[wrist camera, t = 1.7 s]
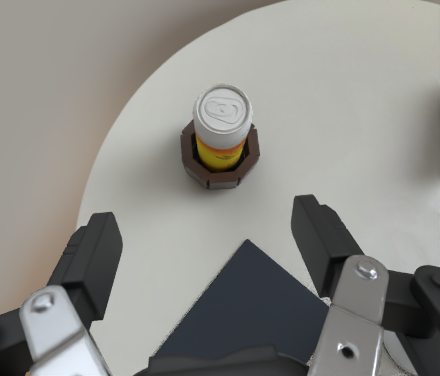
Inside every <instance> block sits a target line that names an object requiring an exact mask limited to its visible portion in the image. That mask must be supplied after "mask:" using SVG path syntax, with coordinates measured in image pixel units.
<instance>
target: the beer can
mask: <svg viewBox="0 0 440 376" xmlns="http://www.w3.org/2000/svg"><path fill="white" fill-rule="evenodd" d="M252 119H253V110H252V106H251V104H250V102H249V100H248V98H247V96H246V95H245V93H244V92H243V91H242V90H240V89H239V88H237V87H235V86H233V85H230V84H216V85H213V86H210V87H209V88H207V89H206V90H204V91H203V92H202V94H201V95H200V96H199V97H198V99H197V100H196V102H195V104H194V108H193V120H194V127H195V133H196V140H197V147H198V153H199V159H200V161H201V163H202V165H203V166H204V167H205V168H206V169H207V170H209V171H211V172H214V173H221V172H228V171H230V170H232V169H233V168H234V167H235V166H236V165H237V163H238V161H239V158H240V155H241V152H242V149H243V146H244V144H245V141H246V138H247V135H248V132H249V129H250V126H251V123H252Z"/></svg>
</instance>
